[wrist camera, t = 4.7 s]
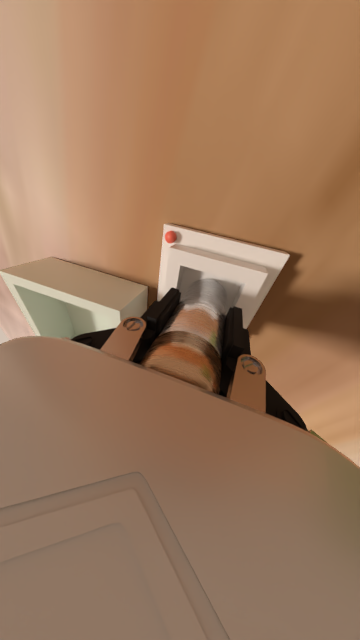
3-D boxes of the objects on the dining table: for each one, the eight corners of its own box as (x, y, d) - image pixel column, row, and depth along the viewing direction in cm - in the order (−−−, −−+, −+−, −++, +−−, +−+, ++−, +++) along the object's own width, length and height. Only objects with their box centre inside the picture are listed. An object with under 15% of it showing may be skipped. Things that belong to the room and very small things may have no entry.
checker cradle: (286, 251, 11) (297, 261, 9) (236, 339, 17) (236, 356, 15) (168, 223, 12) (155, 225, 10) (158, 313, 18) (149, 326, 16)
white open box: (148, 286, 16) (119, 311, 12) (144, 358, 23) (126, 387, 20) (51, 256, 18) (-2, 270, 14) (76, 332, 25) (47, 355, 21)
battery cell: (235, 285, 12) (232, 422, 4) (219, 321, 14) (199, 455, 6) (190, 272, 13) (113, 374, 5) (182, 309, 15) (120, 420, 7)
